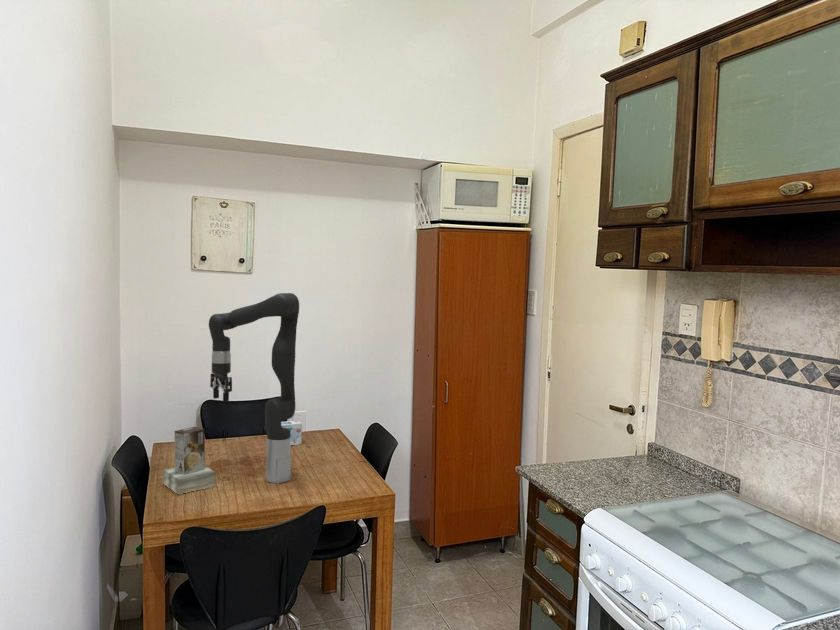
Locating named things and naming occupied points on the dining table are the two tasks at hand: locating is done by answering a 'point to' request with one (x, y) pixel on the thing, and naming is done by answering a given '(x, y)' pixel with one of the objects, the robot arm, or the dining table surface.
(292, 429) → the light bulb box
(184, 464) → the coffee box
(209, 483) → the tower base
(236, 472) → the dining table surface
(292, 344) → the robot arm
